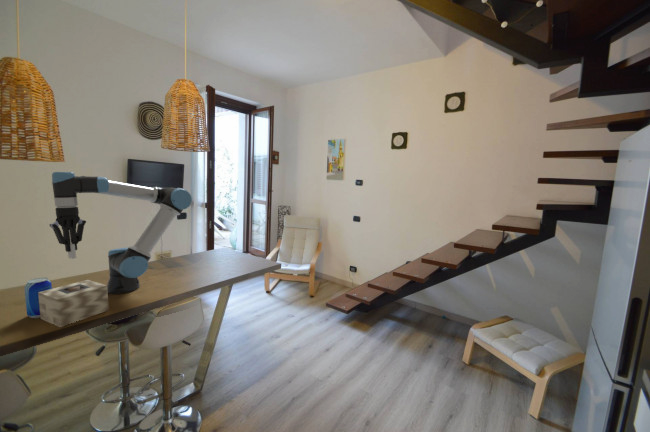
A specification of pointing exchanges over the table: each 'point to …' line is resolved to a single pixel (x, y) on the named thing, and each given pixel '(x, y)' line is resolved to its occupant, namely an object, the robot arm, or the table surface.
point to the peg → (73, 288)
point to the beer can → (35, 295)
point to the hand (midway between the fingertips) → (72, 257)
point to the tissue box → (73, 302)
